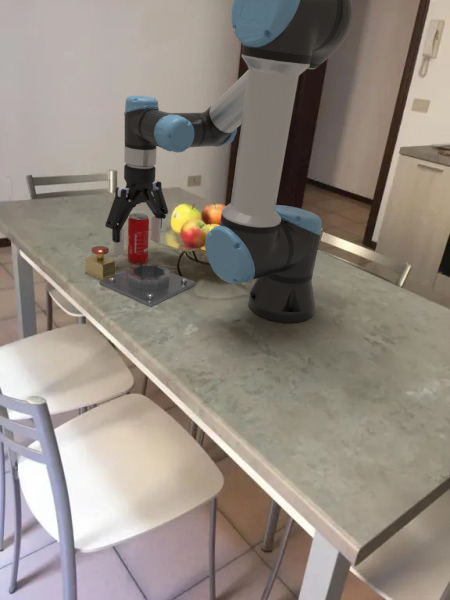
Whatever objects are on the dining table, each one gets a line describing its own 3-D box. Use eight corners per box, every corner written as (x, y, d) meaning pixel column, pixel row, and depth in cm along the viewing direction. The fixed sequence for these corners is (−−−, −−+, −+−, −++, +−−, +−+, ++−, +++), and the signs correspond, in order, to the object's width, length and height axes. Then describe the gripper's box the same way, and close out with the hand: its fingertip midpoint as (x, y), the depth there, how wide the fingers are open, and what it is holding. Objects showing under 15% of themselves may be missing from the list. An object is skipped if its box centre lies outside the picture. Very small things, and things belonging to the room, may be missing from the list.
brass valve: (115, 275, 126) (115, 250, 123) (102, 280, 123) (102, 254, 120) (98, 268, 129) (97, 243, 126) (85, 273, 126) (84, 247, 123)
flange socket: (195, 285, 126) (196, 272, 124) (150, 306, 114) (151, 293, 112) (146, 265, 133) (146, 253, 132) (99, 283, 121) (99, 270, 120)
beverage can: (137, 265, 133) (138, 220, 127) (123, 259, 135) (123, 215, 130) (151, 260, 137) (153, 217, 131) (137, 255, 139) (138, 211, 134)
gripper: (162, 156, 136) (158, 232, 146) (89, 167, 117) (90, 254, 127) (184, 162, 133) (179, 240, 142) (113, 175, 114) (112, 264, 123)
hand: (137, 247), depth 135 cm, fingers open, 13 cm apart
